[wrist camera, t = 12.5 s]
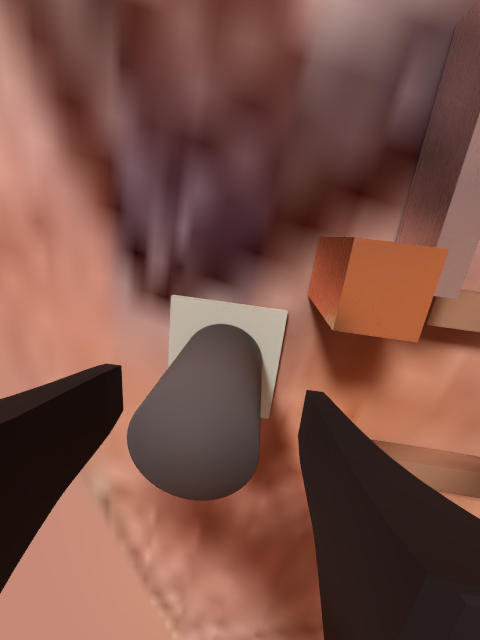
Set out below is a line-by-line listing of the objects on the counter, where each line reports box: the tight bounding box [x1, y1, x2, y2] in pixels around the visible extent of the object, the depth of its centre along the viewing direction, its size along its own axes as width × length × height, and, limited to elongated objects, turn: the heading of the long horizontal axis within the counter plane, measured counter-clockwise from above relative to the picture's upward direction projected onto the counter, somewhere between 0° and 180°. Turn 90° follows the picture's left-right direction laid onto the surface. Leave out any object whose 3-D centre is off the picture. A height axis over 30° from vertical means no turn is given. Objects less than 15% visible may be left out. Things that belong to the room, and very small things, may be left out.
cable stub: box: [127, 324, 262, 501], centre depth 11 cm, size 4×4×6 cm
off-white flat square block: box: [168, 295, 288, 419], centre depth 14 cm, size 6×6×1 cm
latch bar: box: [308, 0, 480, 342], centre depth 9 cm, size 4×10×5 cm, turn 173°
